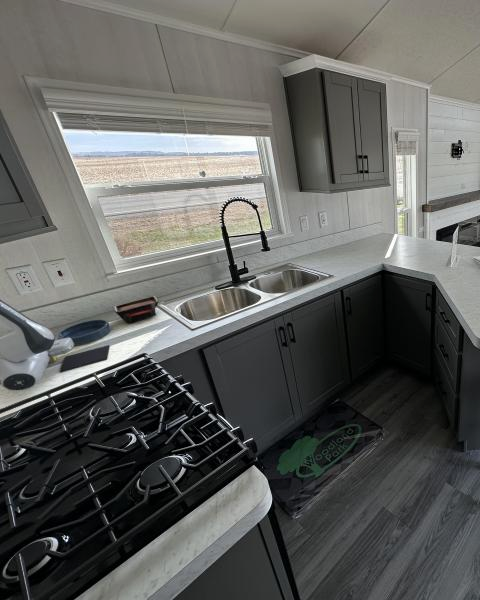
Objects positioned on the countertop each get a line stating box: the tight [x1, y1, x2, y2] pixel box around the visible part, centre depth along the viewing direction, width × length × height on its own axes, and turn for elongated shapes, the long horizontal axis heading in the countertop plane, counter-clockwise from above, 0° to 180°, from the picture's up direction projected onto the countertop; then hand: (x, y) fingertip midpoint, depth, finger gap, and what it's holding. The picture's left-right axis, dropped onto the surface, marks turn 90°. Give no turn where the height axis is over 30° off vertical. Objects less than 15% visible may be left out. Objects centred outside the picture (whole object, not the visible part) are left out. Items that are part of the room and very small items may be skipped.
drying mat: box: [59, 344, 111, 373], centre depth 131 cm, size 14×12×1 cm
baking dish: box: [113, 295, 159, 325], centre depth 163 cm, size 14×18×10 cm
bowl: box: [56, 318, 112, 347], centre depth 146 cm, size 17×17×4 cm
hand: (41, 343), depth 129 cm, fingers open, 5 cm apart
